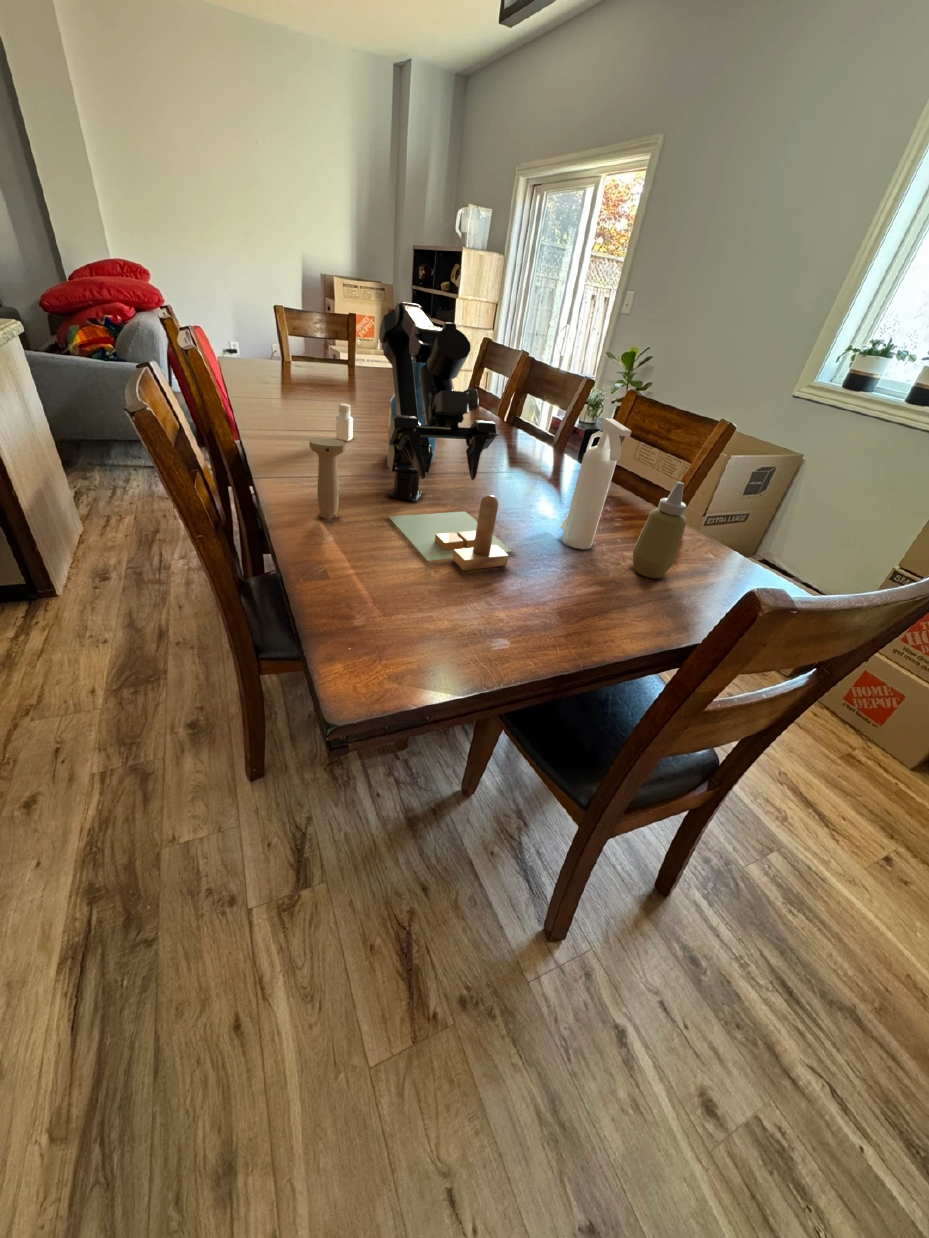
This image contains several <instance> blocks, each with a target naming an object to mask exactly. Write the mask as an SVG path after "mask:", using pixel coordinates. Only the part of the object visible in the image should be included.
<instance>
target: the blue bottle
mask: <svg viewBox="0 0 929 1238" xmlns="http://www.w3.org/2000/svg"><path fill="white" fill-rule="evenodd" d="M425 364H426V363H416V362H415V361H414V360H413V369H414V379H415V389H416V399H417V409H418V418H419V424H420V425H426V422H425V414H423V413H422V408H423V398H422V390H421V386H420V385H419V383H420V370H421V368H422V367H423V366H424V365H425ZM396 415H397V410H396V400H395V393H394V394H393V395H392V396H391V398H390V400H389V409H388V430H389V428H390V425H391V422H392V419H393V418H394V417H395V416H396ZM388 430H387V431H388ZM428 438H429V444H430V445H431V448H432V452H433V455H432V459H431V464H430V465H432V464H433V463H434V462H435V460H436V457H437V456H436V454H437V445H438V438H430V437H428ZM390 447H391V445H390V444H389V439H388V438H387V448H386V452H387V454H388V452H389V449H390Z"/></svg>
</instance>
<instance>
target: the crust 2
mask: <svg viewBox="0 0 929 1238" xmlns="http://www.w3.org/2000/svg"><path fill="white" fill-rule="evenodd" d="M475 535H476V531H465V532H458V537H459V538H461V539H462V540H463V546H464V547H465V548H472V547H474V542H475Z"/></svg>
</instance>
